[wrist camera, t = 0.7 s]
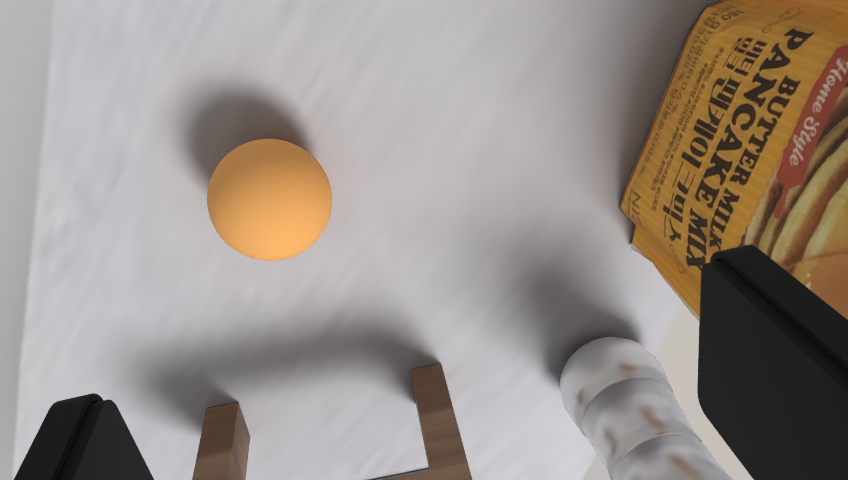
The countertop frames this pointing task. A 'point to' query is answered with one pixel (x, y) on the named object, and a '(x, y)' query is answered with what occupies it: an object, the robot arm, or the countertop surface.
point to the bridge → (447, 476)
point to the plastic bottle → (633, 414)
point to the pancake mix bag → (750, 148)
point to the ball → (269, 199)
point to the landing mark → (403, 474)
